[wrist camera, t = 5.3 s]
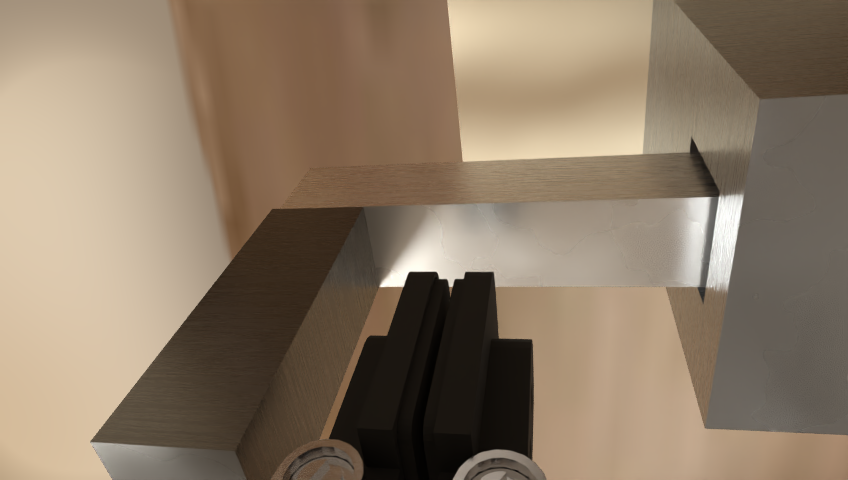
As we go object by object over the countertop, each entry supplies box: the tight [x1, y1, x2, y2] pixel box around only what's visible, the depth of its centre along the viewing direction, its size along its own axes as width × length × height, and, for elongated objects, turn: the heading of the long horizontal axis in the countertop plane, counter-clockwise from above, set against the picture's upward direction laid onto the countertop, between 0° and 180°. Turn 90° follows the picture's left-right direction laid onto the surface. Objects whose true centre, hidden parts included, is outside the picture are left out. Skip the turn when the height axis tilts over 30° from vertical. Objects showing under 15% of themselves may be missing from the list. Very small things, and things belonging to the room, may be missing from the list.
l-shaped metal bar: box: [90, 152, 720, 480], centre depth 12 cm, size 2×20×10 cm, turn 97°
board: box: [447, 0, 653, 162], centre depth 22 cm, size 16×24×1 cm, turn 97°
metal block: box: [643, 0, 848, 435], centre depth 16 cm, size 8×7×12 cm
